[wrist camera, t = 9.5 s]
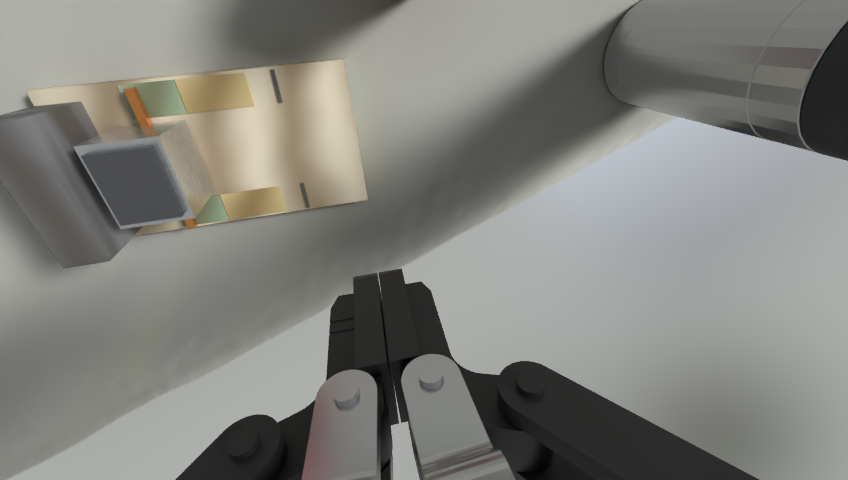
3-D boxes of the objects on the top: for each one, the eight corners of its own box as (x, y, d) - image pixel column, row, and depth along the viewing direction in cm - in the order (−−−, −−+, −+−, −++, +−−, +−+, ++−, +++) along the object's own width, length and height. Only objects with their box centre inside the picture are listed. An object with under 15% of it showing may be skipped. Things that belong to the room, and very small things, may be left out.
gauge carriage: (170, 83, 27) (135, 95, 22) (224, 219, 32) (206, 252, 28) (94, 91, 26) (41, 105, 21) (164, 228, 32) (134, 263, 27)
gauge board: (344, 58, 30) (346, 66, 23) (367, 195, 36) (373, 229, 30) (37, 88, 26) (-52, 107, 20) (120, 232, 33) (71, 279, 27)
